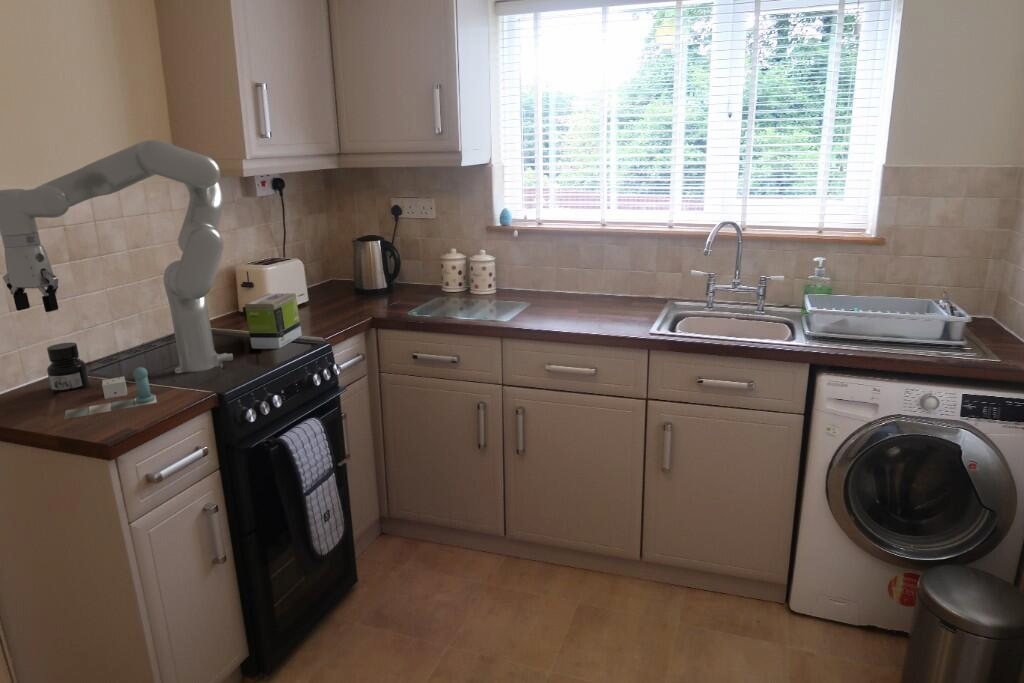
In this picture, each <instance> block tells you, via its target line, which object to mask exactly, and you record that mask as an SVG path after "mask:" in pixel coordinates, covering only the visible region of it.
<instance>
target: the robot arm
mask: <svg viewBox="0 0 1024 683" xmlns="http://www.w3.org/2000/svg"><path fill="white" fill-rule="evenodd" d="M155 175H158V176H160V177H163V178H167V179H170V180H172V181H175V182H179V183H183V184H184V185H185V186H186V187H187V191H188V194H189V195H188V196H189V202H188V206H187V211H186V213H185V216H184V218H183V219H184V220H183V222H182V226H181V229H180V232H179V234H178V238H177V243H178V244H177V245H178V247H179V249H180V251H181V252H182V255H181V257H180V260H175V261H173V262H171V263H169V264H168V266H166V268H165V270H164V273H163V286H164V290H165V293H166V296H167V300H168V305H169V309H170V315H171V321H172V327H173V332H174V338H175V339H174V340H175V344H176V350H177V356H178V362H179V366H178V367H176V368H175V369H174V374H181V373H195V372H196V373H197V372H202V371H207V370H210V369H212V368H216V367H220V368H221V369H223V368H224V367H223V362H226V361H227V362H229V361H233V360H234V356H233V353H227V352H224V353H220V354H219V353H217V352H216V350H215V345H214V339H213V333H212V326H211V320H210V312H209V306H208V302H207V299H206V295H207V294H208V293H209V292H210V291H211V288H212V287H213V284H214V282H215V278H216V275H217V273H218V269H219V265H220V263H221V260H222V255H223V251H224V239H223V237H222V235H221V233H220V232H219V231H218V227H219V225H220V224H219V223H220V220H221V216H222V212H223V206H224V196H223V195H224V194H223V191H222V190H223V189H222V188H221V185H220V182H219V181H220V179H221V178H220V177H221V168H220V167H219V164H218V162H216V161H215V160H214V159H213V158H211V157H209V156H207V155H204V154H201V153H198V152H195V151H192V150H189V149H185V148H182V147H180V146H177V145H173V144H171V143H168V142H165V141H162V140H157V139H149V140H143V141H141V142H138V143H136V144H134V145H130V146H128V147H126V148H124V149H122V150H119V151H117V152H114V153H112V154H110V155H108V156H105V157H103V158H100V159H98V160H96V161H93V162H90V163H88V164H87V165H84V166H82V167H81V168H79V169H76V170H73V171H72V172H69V173H66V174H64V175H62V176H59V177H57V178H54V179H52V180H50V181H47V182H45V183H43V184H41V185H38V186H36V187H34V188H32V189H24V188H9V189H0V236H1V240H2V244H3V245H2V246H3V249H4V260H5V261H4V262H5V268H6V273H5V274H4V275H3V276H2V279H3V281H4V282H5V284H6V287H7V289H8V290H9V291H10V292H9V293H10V294H11V295H12V297H13V301H14V304H15V309H16V311H23V310H24V311H25V310H28V309H30V308H31V305H30V301H29V297H28V296H29V295H28V293H27V292H25V290H26V289H38V290H39V291H40V292H41V294H42V296H41V299H42V304H43V308H44V311H45V312H46V313H50V312H55V311H58V310H59V304H58V301H57V295H56V294H57V293H58V292H57V290H58V288H59V277H58V276H56V275H55V274H54V272H53V269H52V265H51V261H50V259H49V256H48V254H47V251H46V249H45V247H44V246H43V245H42V243H41V239H40V235H39V231H38V230H39V229H38V226H37V221H36V218H45V219H46V218H47V219H48V218H49V219H53V218H59V217H62V216H63V215H65V214H66V213H67V212H68V211H69V209H70V208H71V207H74V206H76V205H78V204H81V203H83V202H86V201H88V200H91V199H93V198H96V197H103V196H107V195H109V196H110V195H112V194H114V193H117V192H120V191H122V190H124V189H127V188H128V187H131V186H133V185H134V184H137V183H139V182H142V181H144V180H146V179H148V178H150V177H152V176H155Z"/></svg>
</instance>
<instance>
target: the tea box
mask: <svg viewBox="0 0 1024 683" xmlns="http://www.w3.org/2000/svg"><path fill="white" fill-rule="evenodd" d="M244 307H245V309H244V310H245V314H246V322H247V326H248V333H249V338H250V344H251V348H252V349H260V350H261V349H264V350H265V349H267V350H272V349H273V350H275V349H276V350H277V349H281V348H282V347H285V346H287V345H288V344H289V343H292V342H293V341H295V340H297V339H298V338H300V337H302V335H303V334H302V326H301V321H300V313H299V306H298V300H297V295H296V293H295V292H294V293H289V292H288V293H285V292H284V293H267V294H265V295H263V296H260V297H257V298H256V299H253V300H252V301H248V302H247V303H245V304H244Z"/></svg>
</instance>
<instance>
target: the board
mask: <svg viewBox="0 0 1024 683" xmlns="http://www.w3.org/2000/svg"><path fill="white" fill-rule="evenodd" d="M153 395H154V400H153V401H151V402H147V403H137V401H136V397H135V398H130V399H124V400H119V401H118V400H117V401H113V402H107V403H102V404H95V405H90V406H84V407H80V408H79V407H78V408H74V409H73V408H72V409H67V410H65V411H64V412H65V413H64V418H63V420H69V419H75V418H79V417H85V416H91V415H96V414H101V413H107V412H112V411H113V412H114V411H118V410H123V409H130V408H134V407H139V406H140V407H141V406H145V405H146V406H147V405H152V404H156V403H157V402H158V401H157V396H156V395H157V394H153Z"/></svg>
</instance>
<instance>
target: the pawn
mask: <svg viewBox="0 0 1024 683" xmlns="http://www.w3.org/2000/svg"><path fill="white" fill-rule="evenodd" d="M148 374H149V373H148V370H147V369H146V368H145V367H142V366H141V367H140V366H139V367H136V368H135V369H134V370H133V372H132V375H133V378H134V381H135V385H136V390H137V391H136V392H137V396H136V397H135V398H136V401H137V403H147V402H151V401H153V400H154V395H155V394H153V393H151V388H150V384H149V382H150V381H149V377H148Z"/></svg>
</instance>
